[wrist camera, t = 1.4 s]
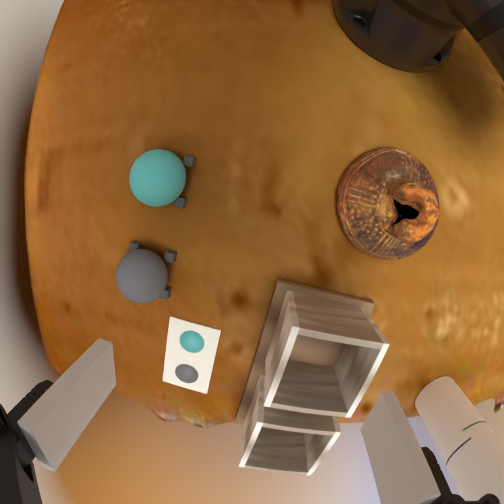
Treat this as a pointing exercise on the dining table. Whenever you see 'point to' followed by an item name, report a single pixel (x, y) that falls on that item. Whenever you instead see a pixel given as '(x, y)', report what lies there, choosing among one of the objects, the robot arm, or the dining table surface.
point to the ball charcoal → (141, 276)
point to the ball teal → (157, 177)
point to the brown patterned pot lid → (387, 203)
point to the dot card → (190, 354)
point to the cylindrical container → (462, 440)
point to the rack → (306, 376)
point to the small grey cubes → (179, 202)
